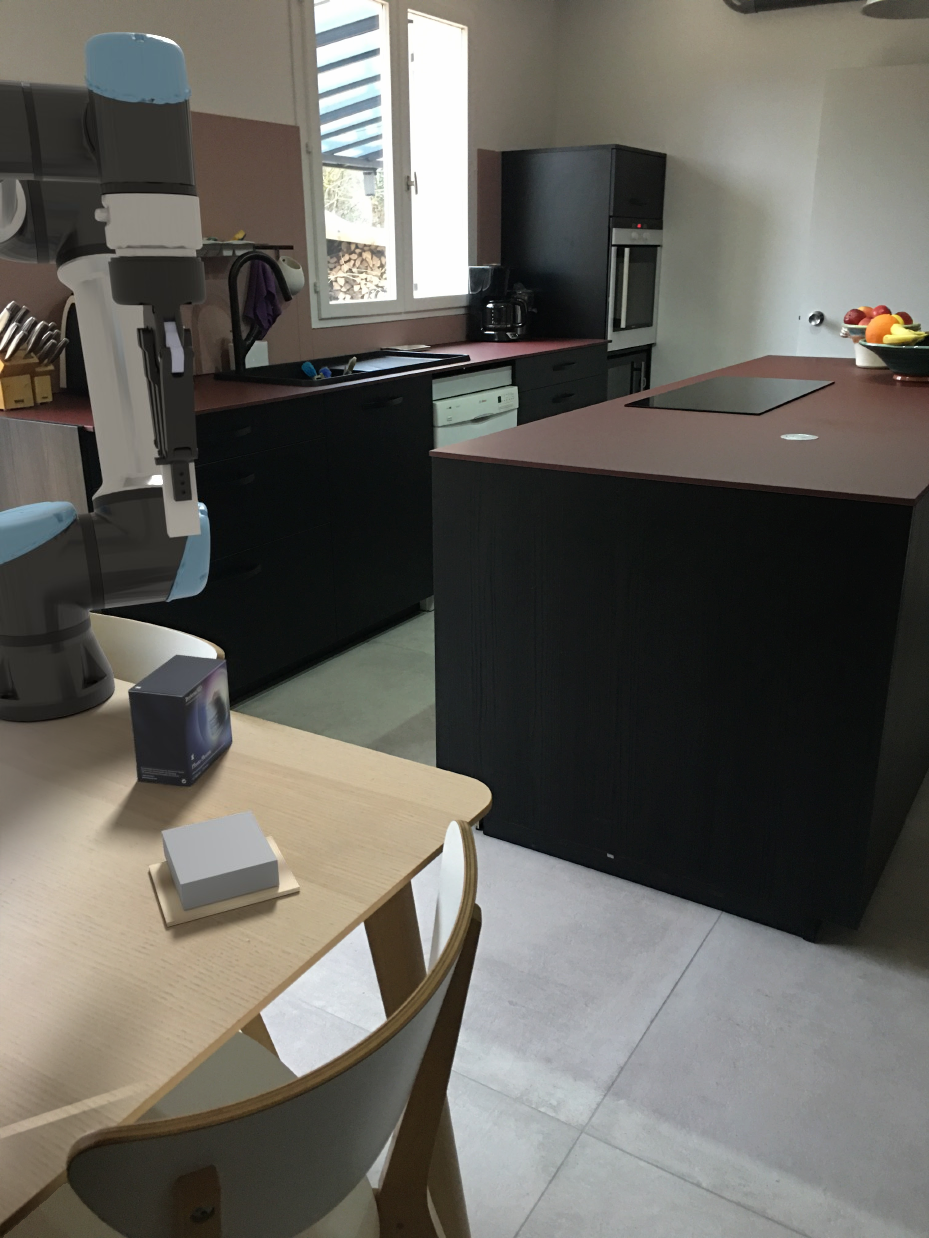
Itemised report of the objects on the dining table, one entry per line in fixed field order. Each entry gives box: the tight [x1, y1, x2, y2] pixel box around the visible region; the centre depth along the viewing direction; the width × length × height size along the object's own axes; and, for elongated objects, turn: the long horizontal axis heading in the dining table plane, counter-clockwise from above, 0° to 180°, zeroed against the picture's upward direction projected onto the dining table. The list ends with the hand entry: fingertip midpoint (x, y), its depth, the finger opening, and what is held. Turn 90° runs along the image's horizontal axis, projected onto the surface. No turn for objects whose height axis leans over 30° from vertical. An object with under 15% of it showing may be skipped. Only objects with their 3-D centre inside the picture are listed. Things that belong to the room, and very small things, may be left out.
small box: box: [127, 654, 234, 788], centre depth 103 cm, size 11×6×10 cm, turn 168°
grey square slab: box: [161, 810, 280, 910], centre depth 85 cm, size 3×8×9 cm
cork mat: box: [148, 835, 301, 928], centre depth 84 cm, size 9×11×1 cm
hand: (184, 533), depth 88 cm, fingers closed
